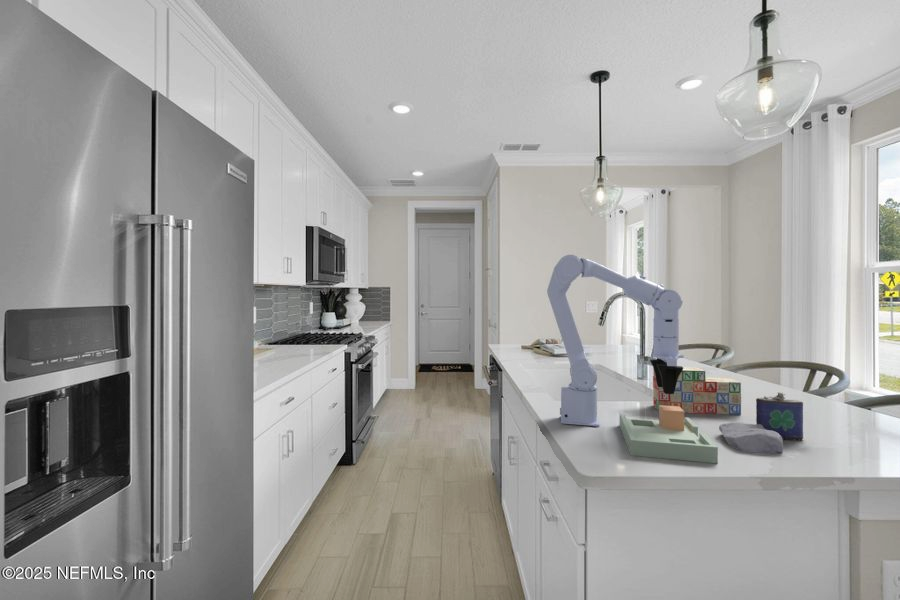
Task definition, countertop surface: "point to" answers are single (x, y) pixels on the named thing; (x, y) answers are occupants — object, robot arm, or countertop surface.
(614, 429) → the countertop surface
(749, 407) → the countertop surface
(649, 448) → the board
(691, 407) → the stack of blocks
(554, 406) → the countertop surface
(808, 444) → the countertop surface
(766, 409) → the flask
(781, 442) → the stone block
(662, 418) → the block
